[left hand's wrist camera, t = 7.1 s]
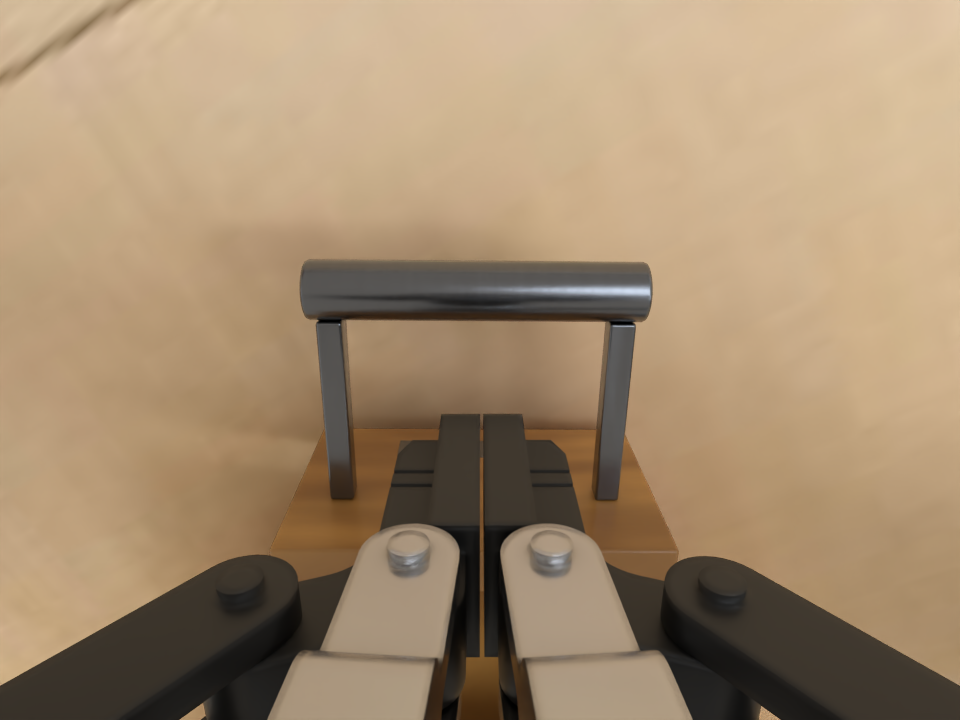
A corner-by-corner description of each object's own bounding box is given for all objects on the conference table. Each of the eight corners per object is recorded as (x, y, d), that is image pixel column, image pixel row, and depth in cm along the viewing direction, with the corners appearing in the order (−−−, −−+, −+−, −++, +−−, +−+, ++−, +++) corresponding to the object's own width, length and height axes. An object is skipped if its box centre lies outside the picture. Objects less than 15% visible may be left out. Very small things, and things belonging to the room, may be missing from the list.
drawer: (306, 229, 18) (233, 286, 12) (643, 232, 18) (719, 290, 13) (356, 812, 27) (326, 997, 21) (584, 810, 27) (613, 995, 21)
